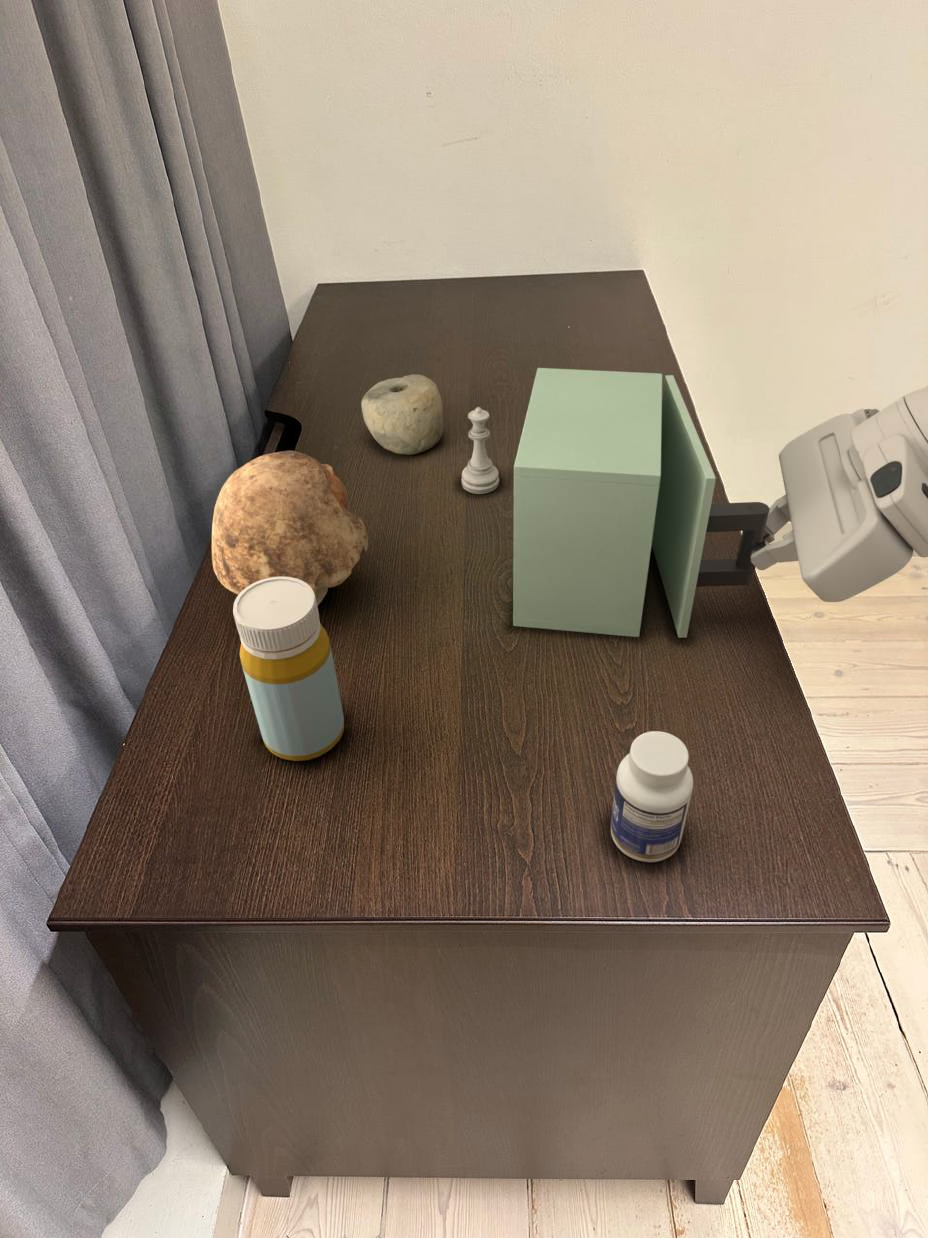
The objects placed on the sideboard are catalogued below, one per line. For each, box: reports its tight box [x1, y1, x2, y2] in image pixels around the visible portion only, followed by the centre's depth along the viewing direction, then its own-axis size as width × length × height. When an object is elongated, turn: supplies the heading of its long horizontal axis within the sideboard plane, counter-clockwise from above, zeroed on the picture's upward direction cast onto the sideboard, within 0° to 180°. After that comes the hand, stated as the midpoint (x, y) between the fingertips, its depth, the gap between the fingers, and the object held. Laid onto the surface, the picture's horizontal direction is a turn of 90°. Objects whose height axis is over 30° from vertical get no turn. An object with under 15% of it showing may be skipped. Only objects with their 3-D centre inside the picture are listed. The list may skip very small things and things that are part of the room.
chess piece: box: [461, 406, 500, 495], centre depth 101 cm, size 4×4×10 cm
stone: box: [360, 373, 444, 456], centre depth 110 cm, size 10×10×10 cm
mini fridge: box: [512, 367, 663, 638], centre depth 85 cm, size 12×18×18 cm, turn 170°
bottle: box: [232, 577, 345, 762], centre depth 71 cm, size 7×7×15 cm
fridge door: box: [651, 374, 770, 639], centre depth 84 cm, size 7×18×18 cm, turn 1°
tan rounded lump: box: [211, 450, 369, 607], centre depth 85 cm, size 15×16×15 cm
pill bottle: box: [610, 730, 694, 863], centre depth 64 cm, size 5×5×10 cm
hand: (752, 550), depth 80 cm, fingers closed on fridge door, 2 cm apart
